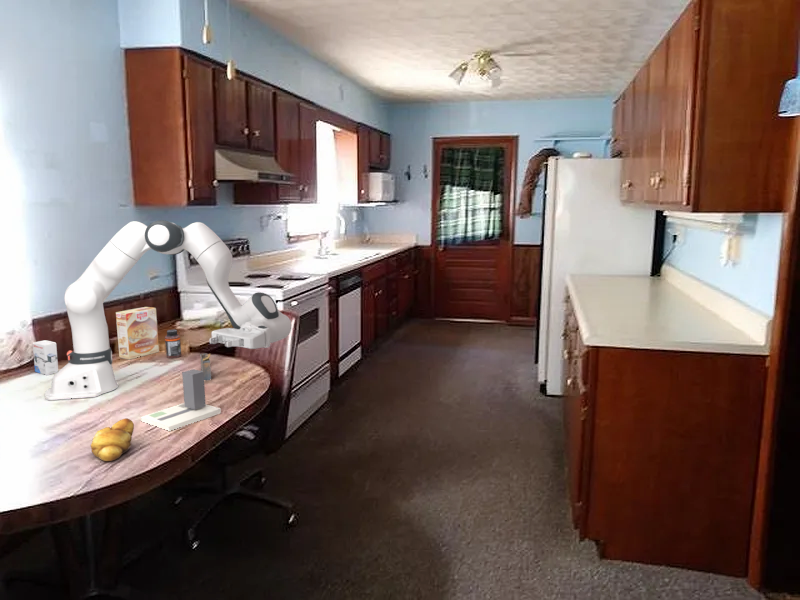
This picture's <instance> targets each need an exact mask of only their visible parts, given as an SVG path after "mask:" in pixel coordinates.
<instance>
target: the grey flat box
mask: <svg viewBox="0 0 800 600" xmlns="http://www.w3.org/2000/svg"><path fill="white" fill-rule="evenodd" d="M199 355H200V371H203V372H204V380H206V381H211V380H212V372H211V360H210V357H211V356H212V355H211V353H209V354H208V353H200V354H199ZM210 379H211V380H210Z"/></svg>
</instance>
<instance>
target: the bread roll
mask: <svg viewBox="0 0 800 600" xmlns="http://www.w3.org/2000/svg"><path fill="white" fill-rule="evenodd" d="M134 423H135V422H134V421H132V419H130V418H127V417H126V418H123V419H119V420H118V421H117V422H115V423H114V424H112V426H111V427H110V426H106V427H104V428H102V429H99V430H97V431H96V432H95V435H93V438H92V440H91V441H92V442H91V444H90V449H91V452H92V454H93V455H94V456H95V457H97V458H99V459H100V460H101V461H103V462H112V461H115V460H117V459H119V458H120V457H121V456H122V454H124V453H126V452H127V451H128V450H130V448H131V446H132V444H131V443H132V438H133V437H132V436H133V433H134V429H135V424H134Z"/></svg>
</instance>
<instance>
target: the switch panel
mask: <svg viewBox="0 0 800 600" xmlns="http://www.w3.org/2000/svg"><path fill="white" fill-rule="evenodd" d="M220 414H222V410H221V408H220V407H217V406H213V405H210V404H206V406H204V407H202V408H199V409H196V410H194V409H191V408H187V407H185V405H184V402H182V403H179V404H177V405H173V406H171V407H168V408H167V407H166V408H164V409H161V410H158V411H157V410H156V411H154V412H151V413H149V414H145V415H143V416H140V422H141V421H142V422H141V423H143V422H145V423H144V424H146V423H148V424H147V425H149V424H150V425H149V426H152V425H154V426H153V427H155V426H157V427H159V428H158V429H160V428H162V429H161V430H163V429H165V430H164V431H166V430H168V431H167V432H169V431H170V432H172V431H171V430H173V431H175V430H174V429H176V430H178V429H180V428H179V427H181V428H183V427H182V426H184V427H186V426H185V425H187V426H189V425H188V424H190V425H192V424H195V423H198V422H200V420H201V421H203V420H206V419H209V418H212V417H215V416H217V415H220ZM197 421H198V422H197ZM194 422H195V423H194ZM191 423H192V424H191ZM157 427H156V428H157ZM177 428H178V429H177Z"/></svg>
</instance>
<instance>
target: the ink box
mask: <svg viewBox="0 0 800 600" xmlns="http://www.w3.org/2000/svg"><path fill="white" fill-rule="evenodd" d="M57 350H58V349H57V343H56V342H55V341H51V340H46V339H45V340H39V341H35V342H34V341H33V342H32V352H33V361H34V372H35V373H39V374H40V375H44V374H45V376H49V375H53V373H54V374H56V373H57V372H58V371H59V362H58V351H57Z"/></svg>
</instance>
